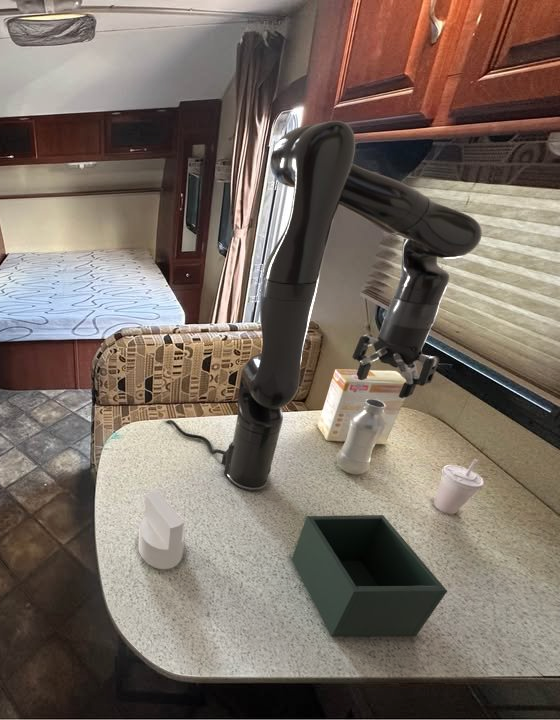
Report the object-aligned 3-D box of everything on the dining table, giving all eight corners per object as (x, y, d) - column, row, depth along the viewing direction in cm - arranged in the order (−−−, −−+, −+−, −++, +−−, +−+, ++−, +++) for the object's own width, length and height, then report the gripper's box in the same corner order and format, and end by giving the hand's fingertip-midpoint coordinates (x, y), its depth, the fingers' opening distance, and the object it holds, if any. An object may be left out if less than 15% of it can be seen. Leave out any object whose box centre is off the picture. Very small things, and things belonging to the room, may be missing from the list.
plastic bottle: (366, 481, 90) (395, 414, 80) (333, 471, 93) (358, 406, 84) (365, 465, 95) (392, 400, 85) (334, 456, 98) (357, 392, 89)
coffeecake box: (372, 429, 107) (396, 370, 98) (386, 445, 101) (413, 384, 92) (316, 425, 109) (334, 367, 100) (326, 441, 103) (346, 381, 94)
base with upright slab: (130, 539, 79) (131, 499, 73) (165, 523, 82) (169, 484, 76) (154, 576, 71) (157, 535, 66) (192, 558, 74) (198, 517, 69)
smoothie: (472, 521, 79) (503, 472, 73) (437, 517, 80) (465, 468, 74) (451, 497, 85) (479, 450, 78) (419, 494, 86) (444, 447, 79)
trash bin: (331, 636, 61) (354, 591, 55) (291, 559, 73) (306, 515, 67) (415, 636, 61) (447, 591, 55) (361, 558, 73) (383, 514, 67)
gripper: (360, 312, 80) (339, 377, 87) (439, 336, 68) (407, 408, 75) (382, 306, 82) (359, 370, 90) (462, 328, 71) (429, 399, 78)
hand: (381, 387), depth 83 cm, fingers open, 8 cm apart
